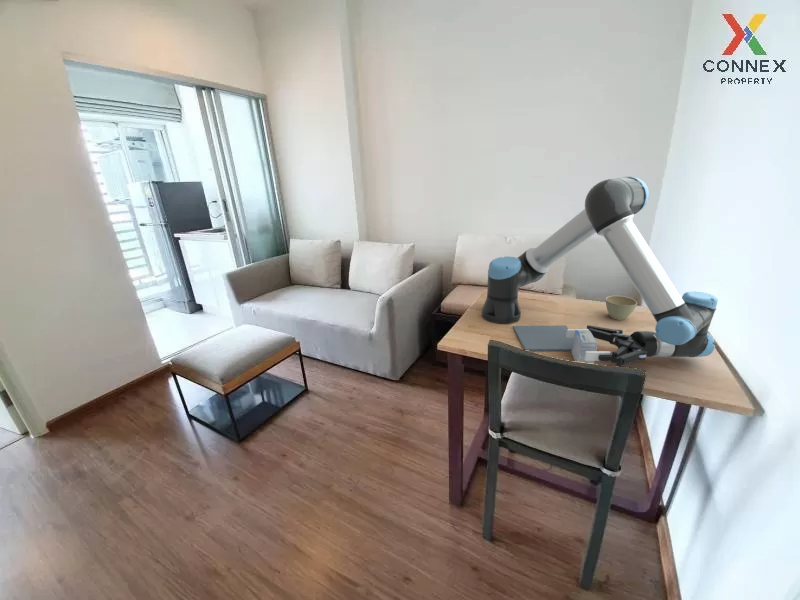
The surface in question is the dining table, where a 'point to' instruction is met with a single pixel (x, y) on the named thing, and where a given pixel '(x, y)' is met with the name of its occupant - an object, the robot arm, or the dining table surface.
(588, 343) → the medicine box
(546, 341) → the slate mat
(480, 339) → the dining table surface
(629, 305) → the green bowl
